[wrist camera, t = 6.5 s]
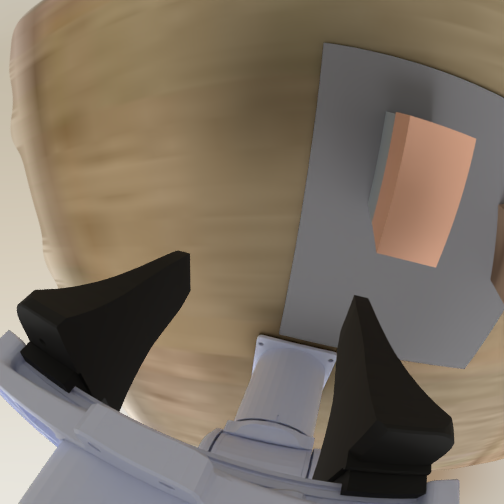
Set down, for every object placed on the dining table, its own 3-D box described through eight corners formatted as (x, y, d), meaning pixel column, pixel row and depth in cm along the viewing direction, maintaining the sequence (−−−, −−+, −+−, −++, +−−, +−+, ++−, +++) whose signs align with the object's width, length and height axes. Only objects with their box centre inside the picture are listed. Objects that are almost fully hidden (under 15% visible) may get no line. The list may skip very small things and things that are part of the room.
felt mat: (463, 366, 23) (464, 368, 23) (279, 331, 28) (279, 334, 27) (564, 135, 11) (567, 136, 11) (324, 43, 15) (323, 42, 15)
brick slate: (410, 214, 18) (421, 236, 16) (367, 203, 19) (371, 224, 16) (432, 124, 15) (449, 130, 12) (386, 111, 16) (395, 113, 13)
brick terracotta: (421, 235, 15) (435, 267, 12) (371, 222, 16) (376, 252, 13) (450, 129, 12) (476, 138, 9) (396, 112, 13) (410, 115, 10)
